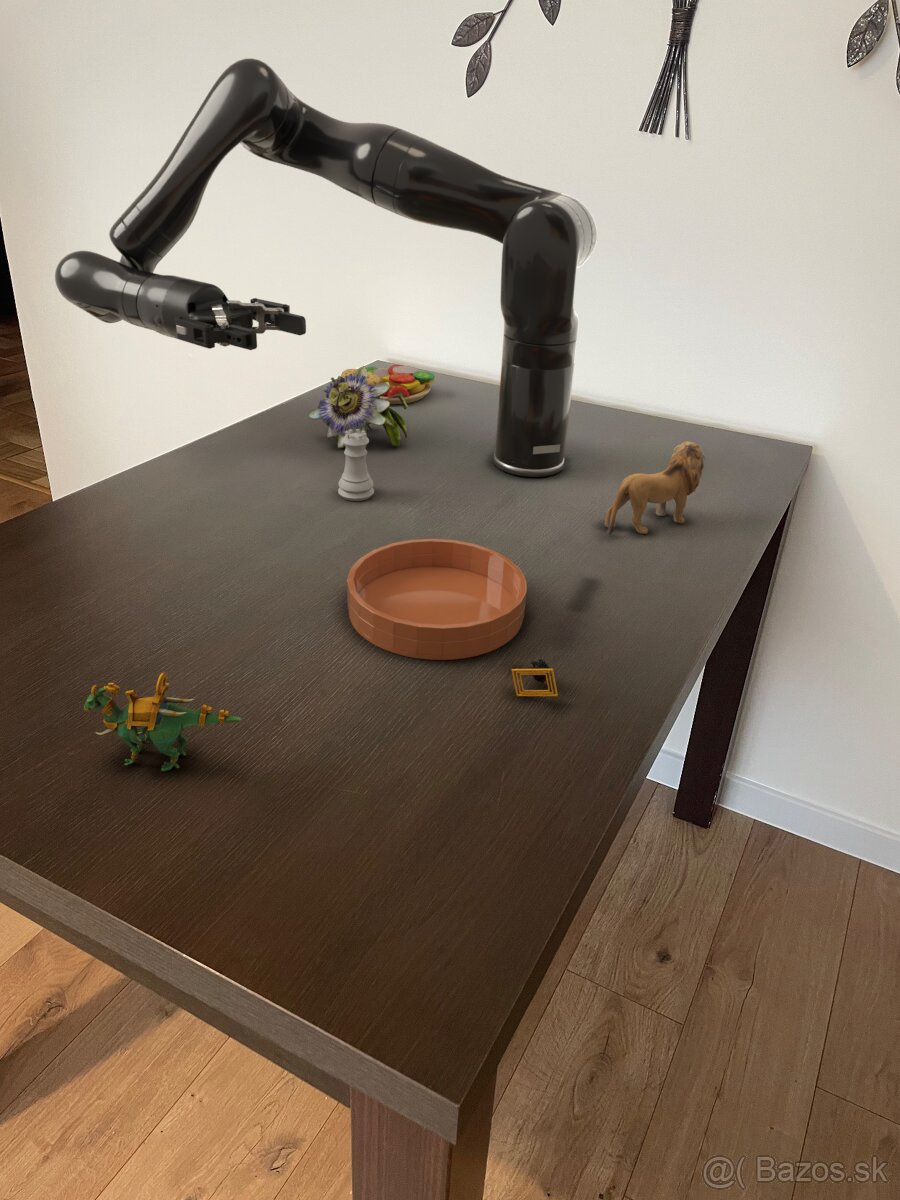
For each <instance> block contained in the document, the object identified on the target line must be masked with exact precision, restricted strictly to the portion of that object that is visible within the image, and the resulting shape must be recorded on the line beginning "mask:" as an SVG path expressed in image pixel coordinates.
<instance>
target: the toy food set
mask: <svg viewBox="0 0 900 1200" xmlns="http://www.w3.org/2000/svg"><path fill="white" fill-rule="evenodd" d="M365 368H366V369H367V380H366V381H367V382H368V383H367V382H366V383H367V385H369V384H370V385H375V384H378V383H385V382H388V383H389V385H390V386H389V389H388V391H386V392H385V393H384V394H382V395H381V396H380V398H381V399H383V400H384V399H387V398H389V397H392V396H394V395H397V394H400V393H401V394H402V397H403V398H404V400H405V402H406V404H410V403H414V402H417V401H419V400H421V399H423V398H425V396H426V395H428V393H429V392H430V391H431V383H434V382H435V381H436V378H435V377H436V376H435V374H434V373H432V372H430V371H425V370H424V371H423V370H422V371H421V370H420V371H419V370H418V368H417V367H415V366H411V365H403V364H393V365H391V366H389V368H388V367H376V366H369V367H365ZM358 369H359V368H347V369H345V370H343V371H342V372H341V374H340V376H343V377H344V378H345V377H346V375H347V376H349V374H352V376H353V375H354V374H355V373H356V372H357V370H358ZM370 385H369V386H370ZM398 396H399V395H398ZM398 396H395V397H393V398H390V399H388V400H386V401H388V402H389V403H390V405H403V403H402V402H401V400H400V399H399V398H398Z"/></svg>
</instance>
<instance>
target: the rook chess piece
mask: <svg viewBox="0 0 900 1200" xmlns="http://www.w3.org/2000/svg"><path fill="white" fill-rule="evenodd" d="M342 442H343V443H344V445H345V449H344V451H343V454H344V455H345V460H344V461H345V462H344V470H343V473H342V474H341V477H340V479H339V480H338V483H337V485H338V487H339V488H338V489H337V492H338V494H339V496H340V497H341V498H343V499H344V500H345V501H349V502H363V501H366V500H368V499H370V498H372V496H373V495H374V493H375V488H373V487H374V485H375V484H374V481H373V479H372V478H371V475H370V473H369V471H368V465H367V455H368V450H367V449H366V448H367V445H368V444H369V442H370V439H369V438H368V435H367V436H366V433H365V431H364V430H362V431H361V433H360V429H356V433H353V430H352V429H350V430H348V431H345V436H344V438H343V439H342Z"/></svg>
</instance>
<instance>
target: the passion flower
mask: <svg viewBox="0 0 900 1200" xmlns="http://www.w3.org/2000/svg"><path fill="white" fill-rule="evenodd" d="M366 368H367V367H365V366H364V365H362V366H360V367H359V368H357V369H358V370H357V372H356V373H355V374H354V375H353V376H352V374H349V376H347V375H346V377H345V378H344V377H343V376H341V375H338V376H337V378H336V379H335V378H334V377H330V380H331V381H332V382H330V383H329V385H326V389H323V392H324V393H325V398H323V399H320V400H319V401H318V405H317V407H316V408H315V409H313V410H311V411H309V412H308V414H307V417H308V418H309V419H311V420H315V421H317V420H321V419H322V421H323V423H324V424H325V425H326V426H327V431H326V439H327V440H330V439H337V448H338V449H344V448H346V446H345V445H344V443H343V442H342V439H343V438H344V436H345V431H348V430H350V429H352V430H353V433H356V429H360V433H361V431H362V430H364V431H365V433H366V436H367V437H368V429H369V430H370V431H373V429H372V427H371V426H370V425H373V426H378V427H379V426H380V427H381V426H382V427H383V429H384V431H385V434H386V435H387V437H388V439H389V442H390V443H391V445H392V446H394V447H396V448H399V447H400V445H401V440H402V439H401V431H402V433H403V434H404V438H405V439H408V437H409V435H408V429H407V427H408V426H407V425H406V421H405V420H404V418H403V417H402V415H400V414H399V413H398V412H397V411H396V410H394V409H392V408H390V407H391V404H390V403H389V402H388V401H386V400H388V399H390V398H393V397H395V396H398V395H399V396H398V398H399V399H400V400H401V402H402V403H403V404H402V407H403V410H407V409H408V407H409V406H408V403H406V402H405V400H404V398H403V397H402V394H401V393H400V394H397V395H394V396H392V397H389V398H387V399H384V400H383V399H381V398H380V396H381V395H382V394H384V393H385V392H386V391H388V389H389V386H390V385H389V383H388V382H385V383H378V384H375V385H370V384H369V385H370V386H369V385H367V383H368V382H367V381H366V380H367V369H366ZM366 382H367V383H366ZM400 430H401V431H400Z"/></svg>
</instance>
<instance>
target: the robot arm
mask: <svg viewBox="0 0 900 1200" xmlns="http://www.w3.org/2000/svg"><path fill="white" fill-rule="evenodd" d="M239 144H240V145H241V146H242V147H243V148H244V149H245V150H246V151H247V152H249V153H251V154H252V155H254V156H256V157H258V158H261V159H263V160H266V161H269V162H273V163H277V164H279V165H283V166H286V167H289V168H293V169H297V170H300V171H303V172H307V173H310V174H313V175H314V176H315V175H316V176H318V177H320V178H322V179H324V180H327V181H328V182H330V183H332V184H334V185H335V186H337V187H339V188H342V189H343V190H345V191H346V192H349V193H351V194H352V195H355V196H357V197H359V198H360V199H363V200H365V201H367V202H368V203H371V204H373V205H375V206H377V207H380V208H382V209H384V210H386V211H389V212H391V213H393V214H395V215H397V216H400V217H403V218H405V219H408V220H411V221H414V222H418V223H421V224H426V225H430V226H436V227H441V228H445V229H446V228H448V229H452V230H457V231H458V230H459V231H463V232H470V233H474V234H477V235H481V236H484V237H487V238H489V239H491V240H494V241H496V242H498V243H500V244H502V248H501V249H502V250H501V267H500V270H501V271H500V297H499V299H500V301H499V302H500V303H499V304H500V311H501V315H502V318H503V323H504V324H503V340H502V350H501V351H502V353H501V367H500V380H499V381H500V382H499V395H498V409H497V419H496V420H497V421H496V422H497V423H496V431H495V432H496V434H495V447H494V452H493V464H494V466H495V467H496V468H498V469H499V470H500V471H503V472H505V473H507V474H510V475H515V476H519V477H529V478H543V477H548V476H553V475H556V474H558V473H560V472H561V471H563V469H564V466H565V453H566V444H567V437H568V436H567V435H568V429H569V428H568V427H569V418H570V409H571V403H572V402H571V400H572V392H573V391H572V390H573V383H574V382H573V381H574V373H575V364H576V355H577V345H578V336H579V327H580V317H579V315H578V313H577V312H576V310H575V305H574V303H575V289H576V278H577V270H578V269H580V268H581V267H582V266H583V265H584V264H585V263H586V262H587V261H589V259H590V258H591V256H592V254H593V253H594V251H595V249H596V246H597V243H598V242H597V241H598V228H597V223H596V220H595V218H594V216H593V214H592V212H591V211H590V209H589V208H587V206H586V205H585V204H584V203H583V202H582V201H581V200H579V199H577V198H576V197H574V196H572V195H570V194H566V193H562V192H558V191H555V190H551V189H548V188H544V187H540V186H536V185H533V184H531V183H530V184H529V183H527V182H523V181H519V180H516V179H513V178H510V177H507V176H505V175H502V174H500V173H497V172H495V171H494V170H491V169H488V168H487V167H485V166H483V165H481V164H479V163H477V162H476V161H474V160H472V159H469V158H467V157H466V156H463V155H461V154H458V153H457V152H455V151H452V150H450V149H448V148H445V147H443V146H441V145H439V144H437V143H435V142H433V141H432V140H431V141H430V140H428V139H427V138H425V137H422V136H419V135H417V134H415V133H412V132H409V131H407V130H404V129H403V128H399V127H396V126H394V125H389V124H385V123H379V122H349V121H343V120H340V119H338V118H334V117H332V116H331V115H328V114H327V113H324V112H322V111H320V110H318V109H316V108H314V107H312V106H311V105H308V104H307V103H305V102H304V101H303V100H301V99H299V97H297V96H296V95H295V94H294V93H293V92H292V91H291V90H290V89H289V87H288V86H287V85H286V84H285V82H284V81H283V80H282V79H281V78H280V77H279V75H278V74H277V73H276V71H275V70H274V69H273V68H272V67H271V66H270V65H268V64H267V63H266V62H264V61H262V60H260V59H256V58H252V57H251V58H243V59H240V60H237V61H235V62H234V63H232V64H230V65H229V66H228V67H227V68H226V69H225V70H224V71H223V72H222V73H221V74H220V76H219V77H218V78H217V80H216V81H215V82H214V83H213V85H212V86H211V88H210V90H209V92H208V93H207V95H206V96H205V98H204V100H203V101H202V103H201V104H200V106H199V108H198V109H197V111H196V112H195V115H194V116H193V118H191V121H190V122H189V124H188V125H187V127H186V128H185V130H184V132H183V133H182V135H181V136H180V138H179V139H178V142H177V143H176V145H175V146H174V147H173V149H172V151H171V153H170V154H169V155H168V157H167V159H166V160H165V162H164V163H163V165H162V166H161V168H160V169H159V170H158V171H157V173H156V174H155V175H154V177H153V178H152V180H150V182H149V183H148V184H147V185H146V187H145V188H144V189H143V190H142V191H141V193H140V194H138V196H137V197H136V198H134V200H133V202H132V203H130V205H129V206H128V207H127V208H126V209H125V211H124V212H123V213H122V214H121V215H120V216H119V217H118V218H117V219H116V221H115V222H114V223H113V224H112V226H111V227H110V229H109V233H108V236H109V239H110V240H109V241H111V244H112V245H113V247H114V248H115V249H116V250H117V251H118V252H119V254H120V255H121V256H120V259H119V261H117V260H115V259H112V258H110V257H108V256H106V255H102V254H100V253H97V252H94V251H91V250H77V251H73V252H70V253H68V254H66V255H65V256H64V257H63V258H62V259H61V260H60V261H59V262H58V263H57V265H56V268H55V272H54V281H55V285H56V288H57V291H58V292H59V294H60V295H61V296H62V297H63V299H65V300H66V301H67V302H69V303H71V304H72V305H74V306H75V307H77V308H79V309H81V310H82V311H84V312H86V313H88V314H89V315H91V316H92V317H94V318H96V319H97V320H99V321H101V322H103V323H106V324H114V323H115V324H116V323H118V322H121V321H124V322H125V323H128V324H130V325H133V326H135V327H138V328H143V329H145V330H150V331H153V332H156V333H158V334H160V335H162V336H166V337H169V338H173V339H176V340H179V341H183V342H186V343H189V344H192V345H194V346H195V345H196V346H198V347H202V348H205V349H215V347H216V344H217V345H219V346H221V347H228V346H233V347H237V348H240V349H244V350H248V351H253V350H257V348H258V335H262V334H264V333H265V332H266V331H280V332H283V333H284V332H285V333H288V334H292V335H296V336H303V335H305V334H306V333H307V324H306V323H307V321H306V320H307V319H306V318H305V316H303V315H299V314H295V313H292V312H291V306H290V305H289V304H286V303H280V302H275V301H270V300H266V299H262V298H261V299H260V298H257V297H253V298H250V299H249V300H250V302H242V301H241V300H234V299H233V300H231V299H230V300H229V299H228V297H227V295H226V294H225V292H224V291H223V290H222V289H221V288H220V287H219V286H217V285H215V284H213V283H209V282H206V281H205V282H204V281H199V280H195V279H191V278H187V277H181V276H178V275H172V274H171V275H170V274H159V273H155V270H156V267H157V265H158V264H159V263H160V262H161V261H162V260H163V259H164V257H165V256H166V255H167V254H168V253H169V252H170V251H171V250H172V249H173V248H174V247H175V245H177V243H178V242H179V241H180V240H181V239H182V238H183V237H184V236H185V234H186V233H187V231H188V230H189V228H190V227H191V225H192V224H193V222H194V220H195V218H196V215H197V213H198V212H199V208H200V206H201V204H202V200H203V197H204V194H205V192H206V189H207V187H208V185H209V182H210V180H211V178H212V176H213V174H214V173H215V171H216V169H217V168H218V166H219V165H220V164H221V163H222V161H223V160H224V158H225V157H226V156H227V155H228V154H229V153H230V152H231V151H233V150H234V148H236V147H237V146H238V145H239ZM254 321H255V322H257V326H254ZM257 334H258V335H257Z"/></svg>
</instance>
